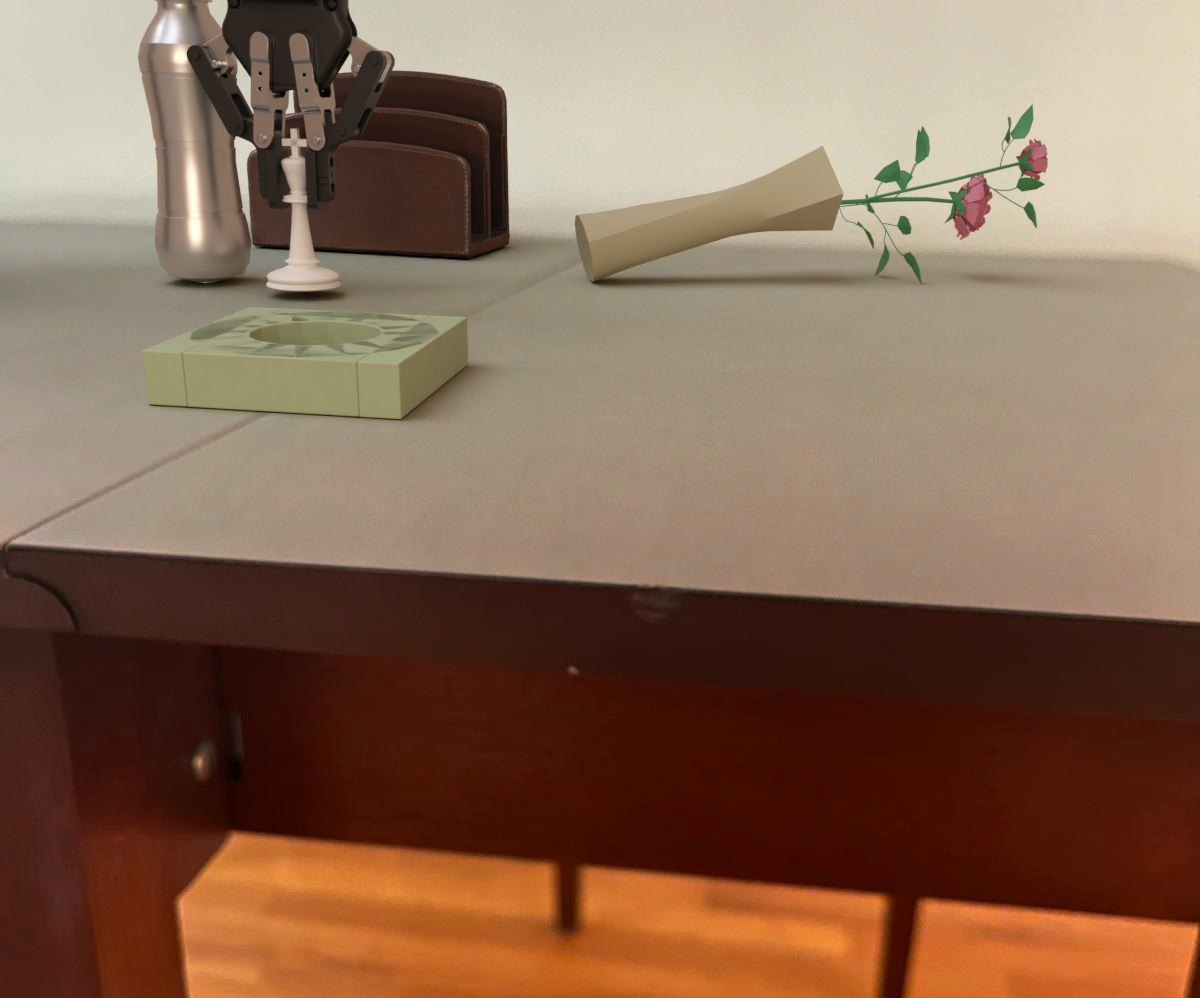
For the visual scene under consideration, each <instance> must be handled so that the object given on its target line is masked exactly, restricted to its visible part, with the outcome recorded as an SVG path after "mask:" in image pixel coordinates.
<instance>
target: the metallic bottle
mask: <svg viewBox="0 0 1200 998" xmlns="http://www.w3.org/2000/svg"><path fill="white" fill-rule="evenodd" d="M155 1H156V4H157V5H156V7H157V9H156V13H155V14H154V16H153V18H152V19H151V22H150V23H149V24H148V26H147V28H146V29H145V31H144V34H143V36H142V38H141V41H140V42H139V49H138V53H137V62H138V68H139V72H141V81H142V86H143V90H144V94H145V99H146V102H147V108H148V113H149V116H150V123H151V131H152V137H153V140H154V142H155V147H154V150H155V151H154V152H155V159H156V181H157V182H156V189H157V192H156V193H157V209H158V211H157V212H158V213H157V214H156V217H155V225H154V227H155V229H154V247H155V251H156V255H157V259H158V262H159V266H160V267H161V268H162V269H163V271H164V272H165V273H166V275H168V276H169V277H173V278H176V279H182V280H186V281H190V282H196V283H201V284H210V283H211V284H212V283H216V282H220V281H224V280H227V279H230V278H234V277H237V276H240V275H244V274H245V272H246V270H247V269H248V267H249V265H250V264H251V263H250V262H251V252H252V251H251V250H252V237H251V233H250V228H249V223H248V220H247V216H246V213H245V211H244V210H243V208H244V205H243V200H242V193H241V186H240V180H239V179H240V178H239V173H238V165H237V147H235V140H236V137H234V136H232V135H230V134H229V133H228V131H227V130H226V128H225V126H224V124H223V122H222V121H221V119H220V117H219V115H218V113H217V112H216V110H215V108H214V106H213V104H212V102H211V101H210V99H209V97H208V95H207V93H206V92H205V90H204V88H203V86H202V84H201V82H200V81H199V79H198V77H197V75H196V73H195V72H194V70H193V68H192V66H191V64H190V63H189V61H188V59H187V50H188V48H189V47H190V46H192V45H204V44H206V43H207V42H209V41H210V40H212V39H214V38H215V37H217V36H218V35H220V34H222V26H220V24H219V22H218V21H216V19H215V17H214V16H213V15H212V13H211V12H210V6H209V4H210V3H213V1H214V0H154V2H155ZM231 57H232V60H233V64H234V68H233V71H232V72H231V74H232V76H233V78H234V80H235V81H236V83H237V84H238V78H237V74H238V71H239V70H238V69H239V68H238V59H237V57H236V56H235V55H234V53H233V52H232V54H231Z"/></svg>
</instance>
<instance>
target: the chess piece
mask: <svg viewBox="0 0 1200 998" xmlns="http://www.w3.org/2000/svg"><path fill="white" fill-rule="evenodd" d="M290 133H291V139H289V138H283V139H282V146H291V150H292V156H289V158H284V159H282V160H281V165H282V168H283V171H284V173H285V176H286V179H287V182H288V184H289V187H290V189H291V191H290V192H289V193H291V194H290V195H285V196H283V198H284V199H282V201H283V202H287V203H291V204H292V223H291V240H290V248H289V254H288V258H286V259H285V260H284V262H285V263H287V265H285V266H283V267H279V268H276V269H275V270H272V271H270V272H268V273H267V275H266V280H267V281H266V284H265V286H266V287H267V288H269V289H271V290H275V291H284V292H323V291H330V290H335V289H338V288H339V287H341V286H342V283H341V282H340V281H339V280H340V275H339V273H338V272H336V271H335V270H332V269H329V268H327V267H322V266H320V265H319V263H320V262H321V260H320V259H318V258H316V254H315V250H314V249H313V244H312V239H311V233H310V227H309V221H308V214H307V207H306V204H307V194H306V193H307V192H306V169H305V158H303V156H301V151H300V146H303V147H308V146H309V145H308V143H307V139H300V134H299V129H294V128H292V129H290Z"/></svg>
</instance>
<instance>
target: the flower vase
mask: <svg viewBox="0 0 1200 998" xmlns="http://www.w3.org/2000/svg"><path fill="white" fill-rule="evenodd" d="M1033 122H1034V104H1033V103H1032V104H1030V106H1029V107H1028V108H1027V109H1026V110H1025V112H1024V113H1023V114H1021V116H1020V118H1019V119H1018V121H1017V122H1016V124H1015V126H1014V128H1013V129H1012V130H1011V127H1012V117H1010V116H1007V124H1008V129H1007V131H1006V134H1005V136H1004V138H1003V139H1002V141H1001V150H1002V152H1003V153H1002V156H1001V159H1000V162H999V166H997V167H996V166H995V167H992V168H988V169H984V170H981V171H977V172H972V173H969V174H965V175H961V176H956V177H953V178H949V179H944V180H940V181H936V182H932V183H926V184H922V185H917V186H912V187H908V184H909V183H910V181H912V179H913V178H914V176H913V173H914V172H915V168H916V167H917V165H919V164H920V163H922V162H923V161H925V160H926V158H928V157H929V155H930V150H931V145H930V137H929V135H928V133H927V131H926V129H925V127H924V125H921V128H920V129H917V133H916V141H915V157H914V161H915V163H914V164H913V166H912V168H911V170H910V172H908V171H906V170H905V169H903V170H902V169H901V165H900V163H899V162H900V161H899V159H896V160H894V161H892V162H891V163H889V164H887V165H886V166H884V167H883V168H882V169H881V170H880V171H879V172H878V173H877V174H876V176H875V177H874V178H873V180H875V181H878V182H880V183H879V184H878V187H877V189H876V191H875V193H874V195H873V196H869V194H867V193H865V198H858V199H856V198H855V199H854V198H853V199H843V198H844V191H843V189H842V186H841V183H840V182H839V180H838V177H837V175H836V173H835V170H834V168H833V166H832V164H831V161H830V159H829V157H828V154H827V152H826V150H825V147H824V146H823V145H821V146H819V147H817V148H816V149H813V150H812V151H809V152H807V153H806V154H803V155H801V156H800V157H798V158H796V159H794V160H792V161H790V162H788V163H786V164H784V165H782V166H780V167H778V168H777V169H775V170H773V171H771V172H768V173H767V174H765V175H762V176H759V177H757V178H754V179H750V180H749V181H746V182H744V183H741V184H738V185H735V186H731V187H728V188H725V189H722V190H717V191H713V192H708V193H703V194H697V195H692V196H686V197H680V198H675V199H669V200H662V201H656V202H649V203H642V204H637V205H632V206H627V207H623V208H616V209H609V210H605V211H599V212H589V213H582V214H575V218H574V230H575V238H576V243H577V247H578V253H579V257H580V259H581V262H582V266H583V269H584V272H585V274H586V276H587V278H588V280H589V281H590V282H597V281H599V280H602V279H604V278H607V277H610V276H612V275H615V274H618V273H620V272H623V271H624V272H625V271H627V270H629V269H631V268H634V267H637V266H641V265H643V264H647V263H650V262H652V261H657V260H659V259H662V258H666V257H668V256H673V255H675V254H679V253H682V252H685V251H688V250H692V249H694V248H698V247H701V246H705V245H707V244H710V243H711V244H712V243H714V242H717V241H720V240H724V239H728V238H731V237H736V236H742V235H748V234H754V233H765V232H816V231H817V232H821V231H822V232H824V231H833V230H834V227H835V224H836V220H837V217H838V214H839V212H840V214H841V217H842V218H843V220H844V221H845V222H848V223H852V224H854V225H856V226H857V227H859V228H861V229H862V230H863V231H864V233H865V235H866V237H867V240H868V241H869V244H870V245H871V247H872V249H875V241H874V238H873V236H872V233H871V232H870V231H869V230H868V229H867V228H865V227H864V225H863V224H862V223H861V222H860V221H857V222H854V221H850V220H847V219H846V218H845V217H844V215H843V212H842V209H841V208H843V207H844V208H845V207H855V206H865V207H866V209H867V212H869V213H870V214H873V215H874V216H875V217H876V218H877V220H878V221H879V222H880V224H881V225H882V227H883V228H884V238H883V251H882V253H881V256H880V259H879V261H878V264H877V267H876V270H875V273H874V277H877V276H878V275H879V274H880V273H881V272H883V270H884V269H885V268H886V266H887V264H888V262H889V260H890V255H891V254H890V251H889V248H888V246H887V244H886V243H885V242H886V241H885V239H886V235H887V236H888V238H889V239H890V241H891V243H892V245H893V246H894V248H895V250H896V252H898V253H899V254H900V256H902V257H903V258H904V260H905V262H906V263H907V264H908V265H909V267H911V269H912V272H913V273H914V275H915V277H916V279H917V280H918V281H919V283H920V285H922V284H923V281H922V275H921V269H920V266H919V263H918V261H917V258H916V257H915V256H914V254H913V253H912V252H911V251H908V252H905V253H902V252H901V251H900V250H899V249H898V248H897V246H896V244H895V243H894V241H893V239H892V237H891V235H890V234H889V231H888V230H887V228H886V226H885V225H887V226H893V227H897V228H898V229H899V231H900V232H901V234H902V235H903V236H904V235H906V236H907V235H911V234H912V225H911V222H910V220H909V218H908V217H907V216H906V215H899V219H898V222H897V224H893V223H888V222H887V223H886V222H882V220H881V219H880V217H879V216H878V215H877V214H876V211H875V209H874V208H873V206H872V204H876V203H880V204H881V203H894V202H895V203H896V202H930V203H942V204H952V206H951V209H950V213H949V215H948V217H947V218H946V220H945V221H944V224H946V223H948V222H950V221H953V223H954V229H955V230H956V231H957V233H956V238H959V240H960V241H962V240H963V239H965V238H967V237H969V236H970V234H971V233H974V232H976V231H979V230H980V228H982V227H983V226H984V225H985V224H986V218H985V216H986V215H988V214H989V213H990V212H991V210H992V207H991V204H988V203H989V202H990V201H991V200H992V199H993V192H992V191H994V192H995V193H997V194H999V195H1000V197H1002V198H1004V199H1006V200H1007V201H1009V202H1010V203H1012V204H1014V205H1016V206H1018V207H1019V208H1020V209H1021V208H1022V209H1023V211H1024V213H1025V214H1026V216H1027V218H1028V219H1029V221H1031V222H1032V224H1033V226H1034V227H1035V229H1038V221H1037V212H1036V210H1035V206H1034V204H1033V203H1032V202H1031V201H1027V202H1026V204H1025V206H1021V205H1020V204H1018V203H1016V202H1014V201H1013V200H1011V199H1010V198H1008V197H1006V196H1005V195H1003V194H1002V193H1000V192H1010V191H1013V190H1016V189H1017V190H1019V191H1020V192H1029V191H1035V190H1038V189H1040V188H1041V187H1043V186H1046V183H1044V182H1042V181H1041V175H1040V174H1042V173H1044V174H1046V172H1047V169H1048V168H1049V167H1048V165H1049V158H1048V148H1047V146H1046V145H1045V143H1042V141H1041V140H1037V139H1036V138H1033V140H1032V139H1029V140H1028V143H1029V144H1027V145H1026V146H1025V147H1024V148H1023V149H1022V151H1021V153H1020V155H1016V156H1015V158H1016V160H1017V161H1016V162H1012V163H1009V164H1004V165H1002V162H1003V159H1004V155H1005V153H1006V151H1007V150H1008V148H1009V146H1010V145H1011V144H1012V142H1013V141H1014V140H1023V139H1026V138H1027V136H1028V135H1029V133H1030V131H1031V128H1032V125H1033ZM1011 138H1012V139H1011ZM1004 142H1006V144H1007V146H1006V147H1005V149H1004ZM1017 166H1018V169H1019V171H1020V177H1019V178H1018V180H1017V183H1016V185H1015V187H1013V188H1011V189H1010V188H1009V189H998V188H993V187H992V186H990V185H989V184H988V180H987V178H986V177H985V174H989V173H992V172H997V171H1001V170H1006V169H1009V168H1010V169H1011V168H1013V167H1017ZM1024 176H1025V177H1024ZM969 178H970V179H969ZM965 179H969V180H968V181H967V182H966V183H964V184H963V185H962V186H961V187H960V188H959V189H958V192H957V191H951V190H950V191H948V194H949V196H950V198H949V199H948V198H941V197H930V196H899V195H900V194H903V193H904V194H905V193H908V192H913V191H917V190H923V189H928V188H932V187H935V186H941V185H944V184H949V183H954V182H957V181H962V180H965ZM883 183H884V184H889V183H896V184H897V186H898V187H899V190H895V191H890V192H885V193H882V194H878V191H879V188H880V187H881V185H882V184H883ZM990 190H992V191H990ZM890 196H891V197H890ZM960 236H961V237H960Z"/></svg>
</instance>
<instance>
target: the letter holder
mask: <svg viewBox="0 0 1200 998" xmlns="http://www.w3.org/2000/svg"><path fill="white" fill-rule="evenodd" d="M355 78H356V77H355V76H354V75H353V74H352V71H349V72H338V74H337V76H336V77H335V79H334V81H333V87H334V95H335V103H336V107H335V110H334V115H335V122H336V120H337V118H338V116H339V114H340V112H341V109H342V107H343V105H344V103H345V100H346V98H347V96H348V94H349V92H350V89H351V87H352V85H353V83H354V81H355ZM323 91H324V90H323ZM292 99H293V110H294V112H291V113H286V116H285V138H289V139H291V133H290V129H292V128H294V129H299V134H300V139H307V137H306V130H305V123H304V116H303V113H302V111H301V110H300V107H299V101H298V93H297V92H296V91H293V90H292ZM507 100H508V99H507V96H506V92H505V91H504V89H503V87H502V86H500V85H499V84H496V83H495V82H492V81H487V80H483V79H482V80H481V79H477V78H472V77H465V76H459V75H454V74H444V73H437V72H427V71H418V70H417V71H416V70H392V72H391V74H390V76H389V78H388V80H387V82H386V85H385V87H384V89H383V91H382V93H381V95H380V98H379V100H378V102H377V104H376V106H375V108H374V111H373V113H372V115H371V117H370V119H369V121H368V124H367V126H366V128H365V130H364V132H363V134H362V136H361V137H360V138H359V139H355V140H350V141H347V142H345V143H342V144H340V145H339V146H338V147H337V148H336V151H335V168H336V189H337V193H336V196H335V199H334V200H333V201H329V207H328V209H326V210H323V211H310V210H309V209H308V204H306V207H307V214H308V221H309V227H310V233H311V239H312V244H313V249H314V251H333V252H346V253H347V252H349V253H351V252H352V253H369V254H370V253H371V254H372V253H373V254H385V255H386V254H391V255H404V256H405V255H406V256H407V255H408V256H421V257H423V256H424V257H435V258H453V259H467V260H468V259H471V258H474V257H477V256H480V255H483V254H486V253H489V252H492V251H495V250H498V249H501V248H504V247H506V246H508V245H509V243H510V237H511V233H510V198H509V197H510V195H509V153H508V152H509V151H508V104H507V103H508V101H507ZM283 148H286V149H288V158H289V156H292V150H291V146H283ZM300 151H301V156H303V158H305V151H309V146H308V147H303V146H300ZM246 173H247V187H248V188H247V189H248V199H249V200H248V202H249V203H248V204H249V220H250V222H249V223H250V232H251V233H250V236H251V244H252V245H253V246H254V247H261V246H268V247H267V248H284V249H290V240H291V223H292V204H291V203H290V206H289V207H288V208H285V209H271V208H270V207H269V204H268V199H263V198H262V195H261V193H260V188H259V173H258V158H257V150H256V148H255V149H253V150H252V151H250V153H249V155H248V157H247V159H246ZM290 191H291V189H290ZM306 192H307V187H306ZM290 194H291V193H290ZM306 194H307V193H306Z"/></svg>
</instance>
